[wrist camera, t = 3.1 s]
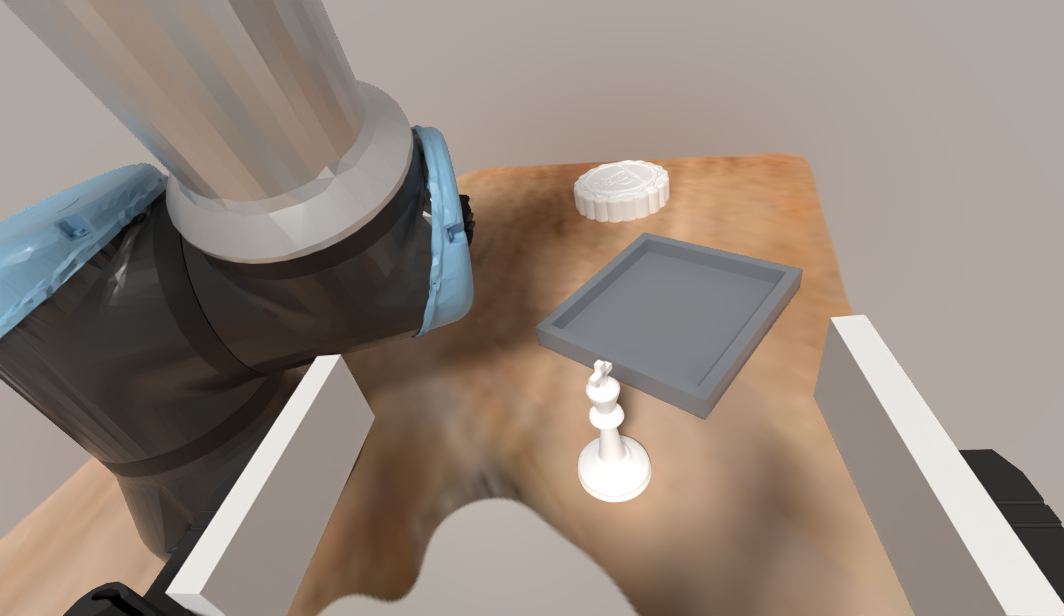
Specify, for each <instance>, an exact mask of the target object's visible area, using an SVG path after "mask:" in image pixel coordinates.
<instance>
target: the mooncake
mask: <svg viewBox="0 0 1064 616" xmlns="http://www.w3.org/2000/svg"><path fill="white" fill-rule="evenodd" d="M574 186H575V187H574V197H575V204H576V209H577V210H579V213H580V215H584V216H586V218H587V219H590V220H594V219H596V221H598V222H607V221H609V222H611V223H617V222H621V221H633V220H635V219H636V218H645V217H647V216H648V215H649V214H652V213H656V212H658V211H659V209H660V208H661V207H664V206H665V205H666V203H667V200H669V177H668V172H667V171H666V170H663V168H662V167H661V166H659V165H655V164H653V163H650V162H648V163H646V162H644V161H642V160H640V161H631V160H626V161H622V162H618V163H610V164H602V165H600V166H599V167H597V168H593V169H590V170H589V171H588V172H587V173H586V174H583V175H581V176H580V177H579V180H577V181H576V182H575V184H574Z"/></svg>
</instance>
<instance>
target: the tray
mask: <svg viewBox="0 0 1064 616" xmlns="http://www.w3.org/2000/svg"><path fill="white" fill-rule="evenodd" d="M802 271H803V269H800V268H795V267H791V266H787V265H782V264H778V263H774V262H769V261H765V260H761V259H756V258H752V257H748V256H743V255H739V254H735V253H730V252H726V251H722V250H717V249H713V248H709V247H704V246H700V245H696V244H691V243H687V242H683V241H678V240H674V239H670V238H665V237H661V236H657V235H653V234H648V233H643V234H642V235H641V236H640V237H638V238H637V239H636V240H635V241H634V242H633V243H632V244H630V245H629V246H628V247H627V248H626V249H625V250H623V251H622V252H621V253H620V254H619V255H618V256H617V257H615V258H614V259H613V260H612V261H611V262H610V263H608V264H607V265H606V266H605V267H604V268H603V269H602V270H600V271H599V272H598V273H597V274H596V275H595V276H593V277H592V278H591V279H590V280H589V281H588V282H587V283H585V284H584V285H583V286H582V287H581V288H580V289H578V290H577V291H576V292H575V293H574V294H573V295H572V296H570V297H569V298H568V299H567V300H566V301H565V302H564V303H562V304H561V305H560V306H559V307H558V308H557V309H555V310H554V311H553V312H552V313H551V314H550V315H549V316H547V317H546V318H545V319H544V320H543V321H542V322H540V323H539V324H538V325H537V326H536V327H535V330H536V335H537V339H538V343H539V344H540V345H542V346H544V347H546V348H548V349H550V350H553V351H555V352H557V353H559V354H561V355H564V356H566V357H568V358H570V359H572V360H575V361H577V362H579V363H581V364H583V365H586V366H588V367H590V368H592V369H594V364H595V362H596V361H597V360H600V361H603V362H604V361H607V362H609V363H612V369H611V371H610V372H609V373H608V374H607V375H608V376H610V377H612V378H614V379H616V380H619V381H621V382H623V383H625V384H627V385H630V386H632V387H634V388H636V389H638V390H641V391H643V392H645V393H647V394H649V395H652V396H654V397H656V398H658V399H660V400H663V401H665V402H667V403H669V404H671V405H674V406H676V407H678V408H680V409H682V410H685V411H687V412H689V413H691V414H693V415H696V416H698V417H700V418H702V419H704V420H705V419H706V418H707V416H708V415H709V413H710V412H711V411H712V409H713V408H714V406H715V405H716V404H717V402H718V401H719V399H720V398H721V397H722V395H723V394H724V392H725V391H726V390H727V388H728V387H729V386H730V384H731V383H732V381H733V380H734V379H735V377H736V376H737V374H738V373H739V372H740V370H741V369H742V367H743V366H744V365H745V363H746V362H747V360H748V359H749V358H750V356H751V355H752V353H753V352H754V351H755V349H756V348H757V346H758V345H759V344H760V342H761V341H762V339H763V338H764V337H765V335H766V334H767V333H768V331H769V330H770V328H771V327H772V326H773V324H774V323H775V321H776V320H777V319H778V317H779V316H780V314H781V313H782V312H783V310H784V309H785V307H786V306H787V305H788V303H789V302H790V300H791V299H792V298H793V296H794V295H795V293H796V292H797V291H798V289H799V288H800V283H801V277H802ZM594 370H595V369H594Z"/></svg>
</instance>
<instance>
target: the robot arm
mask: <svg viewBox="0 0 1064 616" xmlns="http://www.w3.org/2000/svg"><path fill="white" fill-rule="evenodd" d="M2 1H3V2H4V3H5V4H6V5H7V6H8V7H9V9H10V10H11V11H12V12H13V13H15V15H17V17H18V18H19V19H20V20H21V21H22V22H23V23H24V24H25V25H26V26H27V27H28V28H29V29H30V30H31V31H32V32H33V33H34V34H35V35H36V36H37V37H38V38H39V39H40V40H41V41H42V42H43V43H44V44H45V45H46V46H47V47H48V48H49V49H50V50H51V51H52V52H53V53H54V54H55V55H56V56H57V57H58V58H59V59H60V60H61V61H62V62H63V63H64V64H65V65H66V67H68V68H69V70H71V72H72V73H73V74H74V75H75V76H76V77H77V78H78V79H79V80H80V81H81V82H82V83H83V84H84V85H85V86H86V87H87V88H88V89H89V90H90V91H91V92H92V93H93V94H94V95H95V96H96V97H97V98H98V99H99V100H100V101H101V102H102V103H103V104H104V105H105V106H106V107H107V108H108V109H109V110H110V111H111V112H112V113H113V114H114V115H115V116H116V117H117V118H118V119H119V120H120V121H121V122H122V123H123V124H124V126H126V128H128V130H129V131H130V132H131V133H132V134H134V136H135V137H136V138H137V139H138V140H139V141H140V142H141V143H142V144H143V145H144V146H145V147H146V148H147V149H148V150H149V151H150V152H151V153H152V154H153V155H154V156H155V157H156V158H157V159H158V160H159V161H160V162H161V163H162V164H163V165H164V166H165V167H166V168H167V169H168V170H169V171H170V173H169V177H168V176H166V175H163V174H162V173H161V172H160V171H159V170H158V169H157V168H155V167H154V166H152V165H150V164H146V163H141V164H138V165H129V166H125V167H121V168H118V169H115V170H112V171H109V172H107V173H104V174H102V175H99V176H97V177H94V178H92V179H89V180H87V181H84V182H82V183H80V184H77V185H75V186H73V187H71V188H68V189H67V190H64V191H62V192H59V193H57V194H55V195H53V196H51V197H49V198H47V199H45V200H43V201H41V202H39V203H37V204H35V205H33V206H30V207H29V208H26V209H25V210H23V211H21V212H19V213H17V214H15V215H13V216H11V217H9V218H7V219H6V220H4V221H2V222H0V379H1V380H3V381H4V382H5V383H6V384H7V385H9V386H10V387H11V388H12V389H13V390H15V391H16V392H17V393H18V394H20V395H21V396H22V397H23V398H24V399H25V400H27V401H28V402H29V403H30V404H32V405H33V406H34V407H35V408H36V409H37V410H39V411H40V412H41V413H42V414H44V415H45V416H46V417H47V418H48V419H49V420H51V421H52V422H53V423H54V424H55V425H57V426H58V427H59V428H60V429H61V430H63V431H64V432H65V433H66V434H68V435H69V436H70V437H71V438H72V439H73V440H75V441H76V442H77V443H78V444H79V445H81V446H82V447H83V448H84V449H85V450H87V451H88V452H89V453H90V454H92V455H93V456H94V457H95V458H97V459H98V460H99V461H100V462H101V463H102V464H103V465H105V466H106V467H107V468H108V469H109V470H110V471H111V472H112V473H113V474H114V475H115V476H116V478H117V480H118V483H119V485H120V488H121V490H122V493H123V495H124V498H125V500H126V503H127V505H128V507H129V510H130V512H131V515H132V517H133V520H134V522H135V525H136V527H137V530H138V532H139V535H140V537H141V539H142V541H143V542H144V544H145V545H146V546H147V547H148V549H149V550H150V551H151V552H152V553H154V554H155V555H156V556H157V557H159V558H160V559H161V560H162V561H164V562H165V563H166V565H165V566H164V567H163V569H162V570H161V572H160V573H159V575H158V576H157V578H156V579H155V581H154V582H153V584H152V585H151V587H150V588H149V590H148V591H147V593H146V594H145V595H144V596H143V597H141V596H140V595H139V594H137V593H136V592H134V591H133V590H132V589H130V588H129V587H127V586H126V585H124V584H122V583H120V582H111V583H106V584H104V585H101V586H99V587H97V588H95V589H93V590H91V591H90V592H88V593H87V594H86V595H84V596H83V597H81V598H80V599H79V600H78V601H77V602H76V603H75V604H74V605H73V606H72V607H71V608H70V609H69V610H68V611H67V612H66V613H65V614H64V615H63V616H287V613H288V611H289V609H290V607H291V605H292V602H293V600H294V598H295V596H296V593H297V591H298V589H299V587H300V584H301V582H302V580H303V578H304V575H305V573H306V571H307V569H308V566H309V564H310V562H311V560H312V557H313V555H314V553H315V551H316V549H317V546H318V544H319V542H320V540H321V537H322V535H323V533H324V531H325V528H326V526H327V524H328V522H329V519H330V517H331V515H332V513H333V510H334V508H335V506H336V504H337V502H338V499H339V497H340V495H341V493H342V490H343V488H344V486H345V484H346V481H347V479H348V477H349V475H350V472H351V470H352V468H353V466H354V463H355V461H356V459H357V457H358V454H359V452H360V450H361V448H362V446H363V443H364V441H365V439H366V437H367V434H368V432H369V430H370V428H371V425H372V423H373V421H374V419H375V416H374V414H373V412H372V410H371V409H370V407H369V405H368V403H367V401H366V400H365V398H364V396H363V394H362V392H361V390H360V389H359V387H358V385H357V383H356V381H355V379H354V378H353V376H352V374H351V372H350V370H349V369H348V367H347V365H346V363H345V361H344V359H343V358H342V356H341V355H344V354H347V353H351V352H355V351H358V350H362V349H366V348H369V347H373V346H377V345H380V344H384V343H388V342H392V341H396V340H400V339H403V338H407V337H411V336H412V337H414V338H416V337H421V336H423V335H425V334H426V333H427V332H428V331H430V330H433V329H436V328H439V327H442V326H445V325H448V324H451V323H454V322H456V321H459V320H460V319H462V318H463V317H464V316H465V315H466V314H467V313H468V312H469V310H470V308H471V306H472V303H473V299H474V284H473V274H472V266H471V259H470V253H469V247H468V242H467V237H466V234H465V232H464V230H463V229H464V222H463V217H462V208H461V203H460V198H459V193H458V188H457V184H456V179H455V175H454V171H453V167H452V163H451V159H450V155H449V151H448V148H447V145H446V142H445V139H444V137H443V135H442V133H441V132H440V131H439V130H438V129H436V128H432V127H425V128H423V127H420V126H418V125H416V126H414V127H410V124H409V122H408V119H407V118H406V116H405V114H404V112H403V111H402V109H401V108H400V107H399V105H398V103H397V102H396V101H395V100H394V99H393V98H392V97H391V96H389V95H388V94H387V93H385V92H384V91H382V90H380V89H379V88H377V87H375V86H372V85H370V84H368V83H365V82H361V81H358V80H356V79H355V77H354V74H353V72H352V70H351V68H350V65H349V63H348V61H347V59H346V56H345V54H344V51H343V49H342V47H341V45H340V42H339V40H338V38H337V36H336V33H335V31H334V29H333V27H332V24H331V22H330V20H329V17H328V15H327V13H326V10H325V8H324V6H323V4H322V2H321V0H2ZM311 363H313V364H312V365H311V367H310V368H309V370H308V372H307V373H306V375H305V376H304V375H302V374H301V373H300V372H298V371H297V370H295V369H294V368H297V367H300V366H304V365H308V364H311ZM814 397H815V400H816V402H817V404H818V406H819V408H820V410H821V413H822V415H823V417H824V419H825V421H826V423H827V426H828V428H829V430H830V432H831V434H832V436H833V439H834V441H835V443H836V445H837V447H838V449H839V452H840V454H841V456H842V458H843V460H844V462H845V465H846V467H847V469H848V471H849V473H850V475H851V478H852V480H853V482H854V484H855V486H856V488H857V491H858V493H859V495H860V497H861V499H862V501H863V504H864V506H865V508H866V510H867V512H868V515H869V517H870V519H871V521H872V523H873V525H874V528H875V530H876V532H877V534H878V536H879V538H880V541H881V543H882V545H883V547H884V549H885V551H886V554H887V556H888V558H889V560H890V562H891V564H892V567H893V569H894V571H895V573H896V575H897V577H898V580H899V582H900V584H901V586H902V588H903V590H904V593H905V595H906V597H907V599H908V601H909V603H910V606H911V608H912V610H913V612H914V614H915V616H1064V528H1063V527H1062V525H1061V521H1060V520H1059V518H1058V517H1057V516H1056V515H1055V514H1054V512H1053V511H1052V509H1051V508H1050V507H1049V506H1048V505H1045V504H1044V500H1043V498H1042V497H1041V495H1040V494H1039V493H1038V492H1037V490H1036V489H1035V488H1034V486H1033V485H1032V484H1031V482H1030V481H1029V480H1028V479H1027V477H1026V476H1025V475H1024V473H1023V472H1022V471H1020V470H1019V469H1018V468H1016V467H1015V466H1014V465H1012V464H1011V463H1010V462H1008V461H1007V460H1006V459H1004V458H1003V457H1002V456H1000V455H999V454H998V453H996V452H995V451H994V450H992V449H986V450H985V449H984V450H957V448H956V447H955V445H954V444H953V442H952V441H951V440H950V438H949V436H948V435H947V434H946V432H945V431H944V429H943V428H942V426H941V425H940V423H939V422H938V421H937V419H936V418H935V416H934V415H933V413H932V412H931V410H930V409H929V407H928V406H927V405H926V403H925V402H924V400H923V399H922V397H921V396H920V394H919V393H918V391H917V390H916V388H915V387H914V386H913V384H912V383H911V381H910V380H909V378H908V377H907V375H906V374H905V372H904V371H903V370H902V368H901V367H900V365H899V364H898V362H897V361H896V359H895V358H894V357H893V355H892V354H891V353H890V351H889V349H888V348H887V346H886V345H885V343H884V342H883V341H882V339H881V338H880V336H879V335H878V333H877V332H876V330H875V329H874V328H873V326H872V324H871V323H870V322H869V320H868V319H867V317H866V316H865V315H859V316H844V317H831V318H830V321H829V325H828V330H827V335H826V340H825V344H824V349H823V354H822V359H821V364H820V368H819V373H818V378H817V383H816V387H815V392H814Z"/></svg>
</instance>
